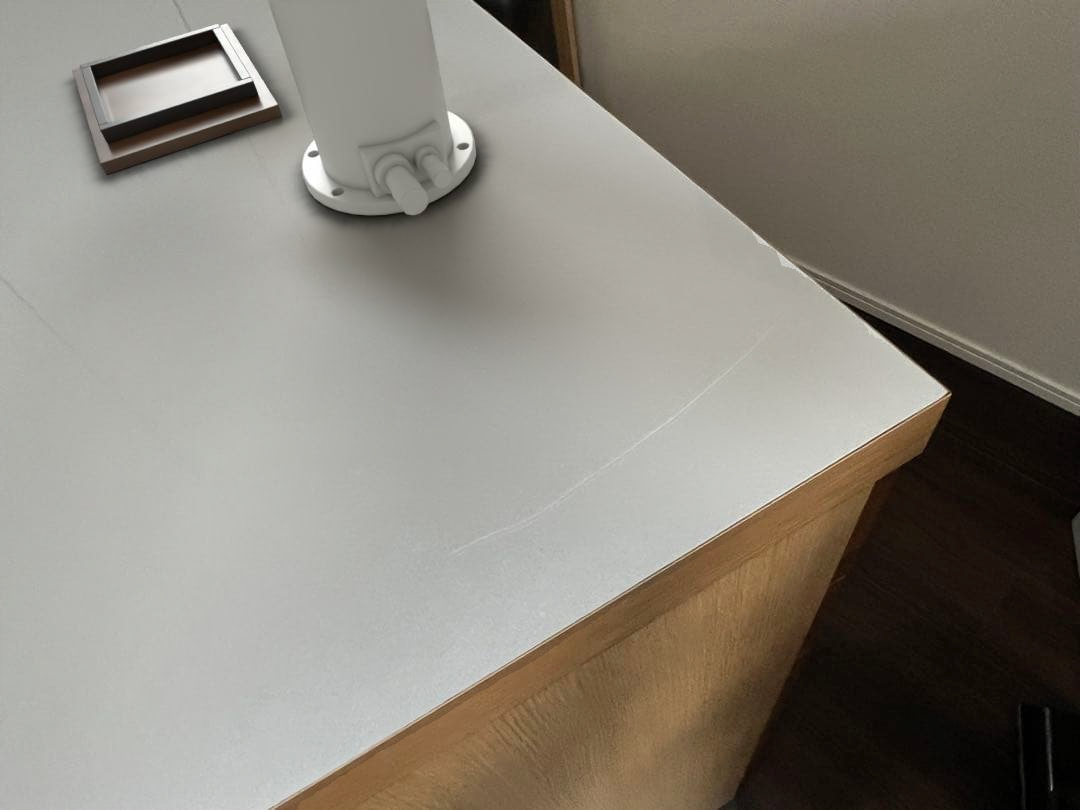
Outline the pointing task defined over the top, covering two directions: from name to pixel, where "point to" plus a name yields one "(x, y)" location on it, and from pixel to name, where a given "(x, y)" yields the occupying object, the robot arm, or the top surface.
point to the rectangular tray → (171, 96)
